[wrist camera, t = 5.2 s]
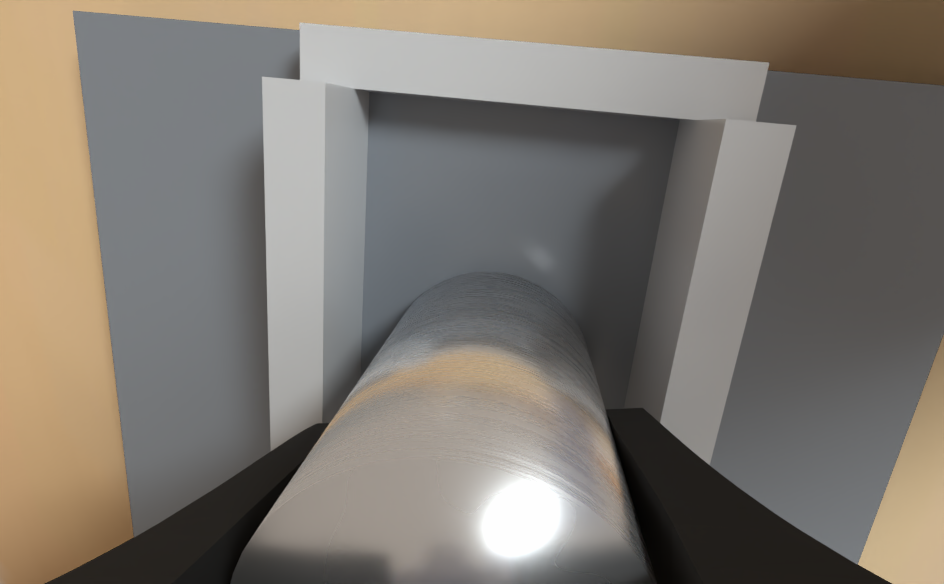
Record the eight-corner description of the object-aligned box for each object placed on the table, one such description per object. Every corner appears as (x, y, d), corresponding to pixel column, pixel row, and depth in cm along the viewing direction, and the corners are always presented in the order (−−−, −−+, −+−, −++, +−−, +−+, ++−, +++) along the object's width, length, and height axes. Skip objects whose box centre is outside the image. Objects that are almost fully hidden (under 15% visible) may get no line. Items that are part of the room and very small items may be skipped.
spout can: (580, 260, 11) (725, 583, 3) (596, 449, 12) (736, 1051, 4) (373, 283, 12) (36, 611, 4) (407, 462, 13) (207, 1018, 5)
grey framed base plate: (979, 96, 11) (1199, 83, 7) (793, 635, 15) (876, 791, 12) (115, 21, 12) (-55, -22, 8) (165, 543, 16) (65, 661, 13)
